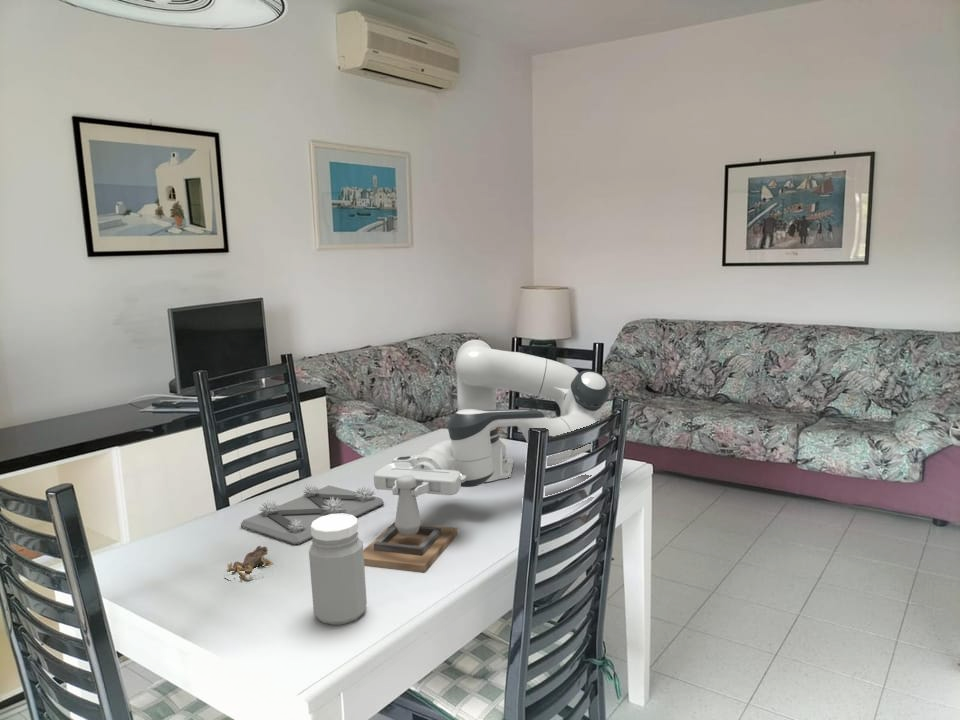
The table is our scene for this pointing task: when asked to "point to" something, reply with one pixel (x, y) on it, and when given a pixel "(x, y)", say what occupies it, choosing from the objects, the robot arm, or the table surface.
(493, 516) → the table surface
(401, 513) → the salt shaker
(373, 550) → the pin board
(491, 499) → the table surface
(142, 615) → the table surface
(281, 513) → the decorative plate
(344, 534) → the jar
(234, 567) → the frog figurine
